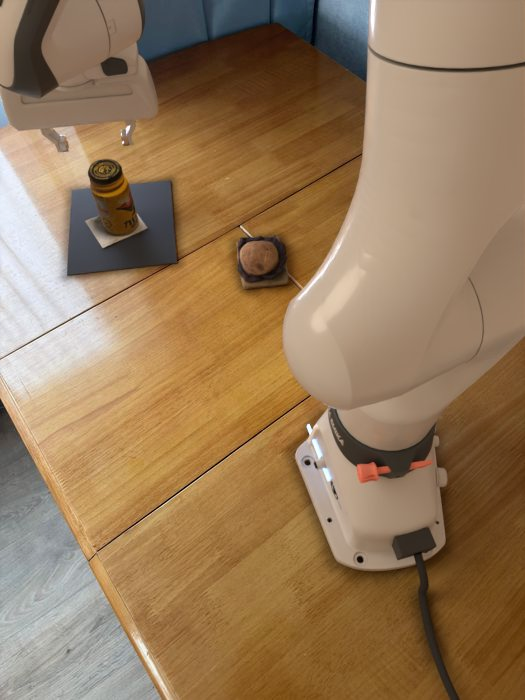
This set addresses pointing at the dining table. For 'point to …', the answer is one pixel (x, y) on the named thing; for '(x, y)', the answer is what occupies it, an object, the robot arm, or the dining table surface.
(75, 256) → the placemat
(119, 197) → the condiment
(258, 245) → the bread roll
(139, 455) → the dining table surface
